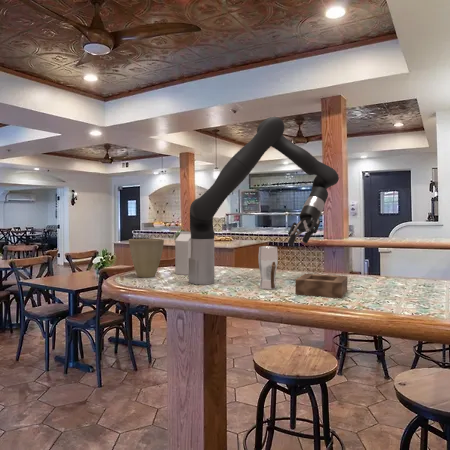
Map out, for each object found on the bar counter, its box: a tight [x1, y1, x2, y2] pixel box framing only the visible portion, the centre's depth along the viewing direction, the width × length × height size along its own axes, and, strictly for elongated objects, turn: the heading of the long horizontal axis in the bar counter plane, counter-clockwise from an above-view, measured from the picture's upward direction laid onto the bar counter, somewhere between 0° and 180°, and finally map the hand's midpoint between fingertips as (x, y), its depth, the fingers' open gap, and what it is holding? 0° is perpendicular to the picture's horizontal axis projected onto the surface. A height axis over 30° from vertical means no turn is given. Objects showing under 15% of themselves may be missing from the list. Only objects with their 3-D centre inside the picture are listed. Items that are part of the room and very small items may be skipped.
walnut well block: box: [294, 273, 348, 299], centre depth 135 cm, size 15×15×5 cm
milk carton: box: [174, 231, 191, 276], centre depth 176 cm, size 7×7×19 cm
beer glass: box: [257, 245, 279, 291], centre depth 143 cm, size 7×7×15 cm
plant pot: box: [128, 238, 165, 279], centre depth 168 cm, size 15×15×16 cm
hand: (297, 243), depth 151 cm, fingers open, 8 cm apart
